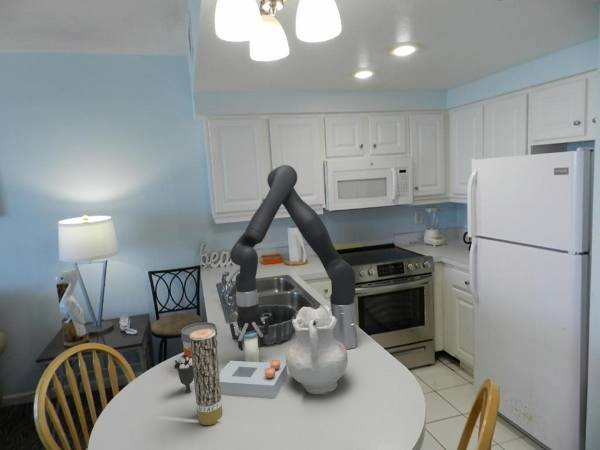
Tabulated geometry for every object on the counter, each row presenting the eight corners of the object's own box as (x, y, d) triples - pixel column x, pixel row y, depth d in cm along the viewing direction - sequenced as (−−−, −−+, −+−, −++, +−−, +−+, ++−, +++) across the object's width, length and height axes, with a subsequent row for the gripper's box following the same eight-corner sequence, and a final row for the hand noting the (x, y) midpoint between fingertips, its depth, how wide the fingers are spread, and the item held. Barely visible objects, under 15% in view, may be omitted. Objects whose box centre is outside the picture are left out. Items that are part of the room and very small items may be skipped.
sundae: (203, 390, 126) (199, 345, 124) (191, 401, 120) (186, 354, 118) (186, 388, 128) (181, 344, 126) (173, 399, 122) (168, 352, 120)
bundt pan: (271, 356, 148) (269, 330, 147) (223, 342, 164) (221, 319, 163) (311, 332, 169) (310, 309, 168) (266, 322, 185) (264, 301, 184)
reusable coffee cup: (227, 363, 144) (223, 323, 143) (205, 379, 133) (201, 337, 131) (199, 358, 150) (196, 320, 148) (176, 374, 138) (172, 333, 137)
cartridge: (261, 369, 138) (259, 331, 136) (246, 372, 136) (242, 334, 135) (259, 362, 143) (256, 326, 142) (243, 365, 142) (240, 329, 140)
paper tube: (200, 413, 113) (192, 329, 110) (224, 410, 114) (216, 327, 111) (196, 427, 106) (187, 339, 104) (221, 425, 107) (213, 337, 104)
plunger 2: (281, 371, 128) (281, 359, 127) (279, 376, 125) (278, 364, 124) (272, 371, 129) (271, 359, 128) (269, 375, 125) (268, 364, 125)
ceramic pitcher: (357, 404, 115) (359, 321, 112) (291, 409, 112) (292, 324, 109) (338, 370, 136) (339, 300, 134) (282, 374, 133) (282, 302, 130)
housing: (287, 378, 131) (286, 363, 130) (275, 401, 117) (273, 385, 116) (231, 374, 135) (230, 360, 135) (213, 396, 122) (212, 381, 121)
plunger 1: (277, 380, 122) (276, 367, 122) (273, 385, 119) (273, 372, 119) (267, 379, 123) (266, 367, 123) (263, 384, 120) (263, 372, 120)
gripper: (227, 308, 132) (232, 356, 133) (269, 302, 136) (273, 348, 137) (225, 302, 139) (229, 347, 141) (265, 296, 143) (268, 340, 145)
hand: (251, 348), depth 139 cm, fingers open, 6 cm apart
